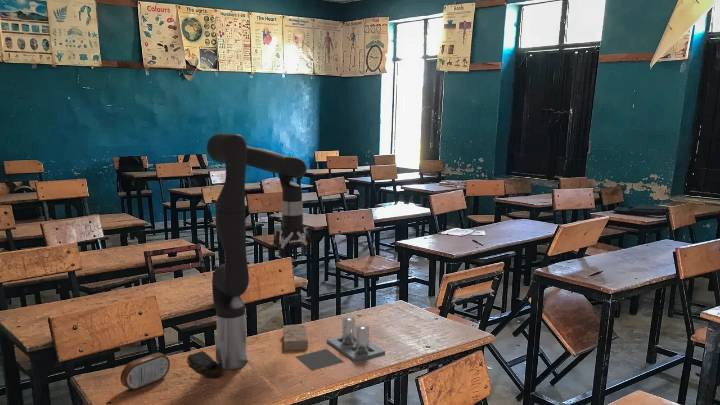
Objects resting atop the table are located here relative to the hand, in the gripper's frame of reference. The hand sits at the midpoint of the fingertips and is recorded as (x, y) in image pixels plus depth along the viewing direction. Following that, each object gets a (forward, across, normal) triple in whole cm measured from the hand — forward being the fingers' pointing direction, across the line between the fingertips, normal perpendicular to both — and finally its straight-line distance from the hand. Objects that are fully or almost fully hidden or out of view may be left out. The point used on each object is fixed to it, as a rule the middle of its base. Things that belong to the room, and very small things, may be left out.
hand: (292, 256), depth 197 cm
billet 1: (+30, +12, -20) cm, 38 cm away
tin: (+30, -55, -12) cm, 64 cm away
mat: (+30, -3, -26) cm, 40 cm away
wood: (+31, -36, -9) cm, 49 cm away
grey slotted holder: (+30, +12, -24) cm, 41 cm away
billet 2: (+30, +12, -29) cm, 43 cm away
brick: (+31, -3, -8) cm, 32 cm away
